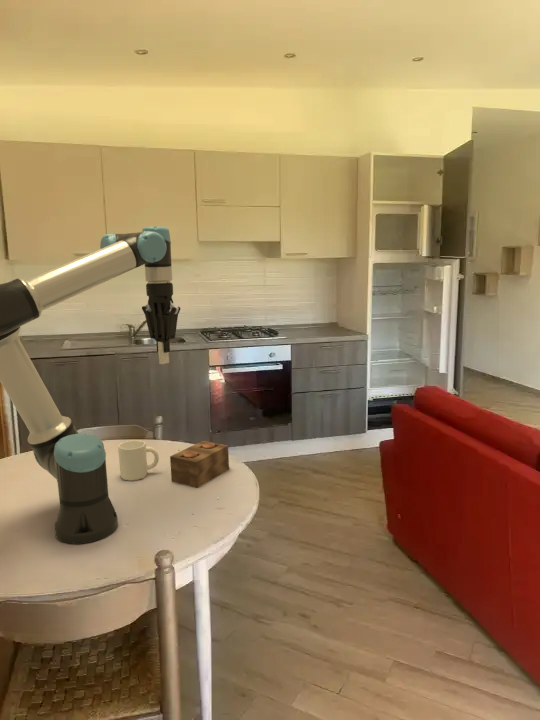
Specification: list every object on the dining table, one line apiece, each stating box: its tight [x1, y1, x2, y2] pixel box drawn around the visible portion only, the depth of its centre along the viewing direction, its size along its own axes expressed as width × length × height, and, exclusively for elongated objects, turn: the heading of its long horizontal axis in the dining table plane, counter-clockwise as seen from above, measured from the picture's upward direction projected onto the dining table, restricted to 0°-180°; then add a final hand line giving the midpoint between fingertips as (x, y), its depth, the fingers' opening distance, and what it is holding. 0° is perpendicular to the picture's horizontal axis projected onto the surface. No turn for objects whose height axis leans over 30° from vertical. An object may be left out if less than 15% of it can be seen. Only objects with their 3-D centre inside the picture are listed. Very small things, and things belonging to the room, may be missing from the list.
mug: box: [117, 439, 160, 482], centre depth 172 cm, size 12×8×10 cm
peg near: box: [184, 452, 197, 459], centre depth 167 cm, size 4×4×8 cm
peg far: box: [202, 442, 215, 450], centre depth 175 cm, size 4×4×8 cm
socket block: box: [169, 440, 230, 489], centre depth 171 cm, size 16×10×8 cm, turn 149°
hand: (164, 363), depth 162 cm, fingers closed
